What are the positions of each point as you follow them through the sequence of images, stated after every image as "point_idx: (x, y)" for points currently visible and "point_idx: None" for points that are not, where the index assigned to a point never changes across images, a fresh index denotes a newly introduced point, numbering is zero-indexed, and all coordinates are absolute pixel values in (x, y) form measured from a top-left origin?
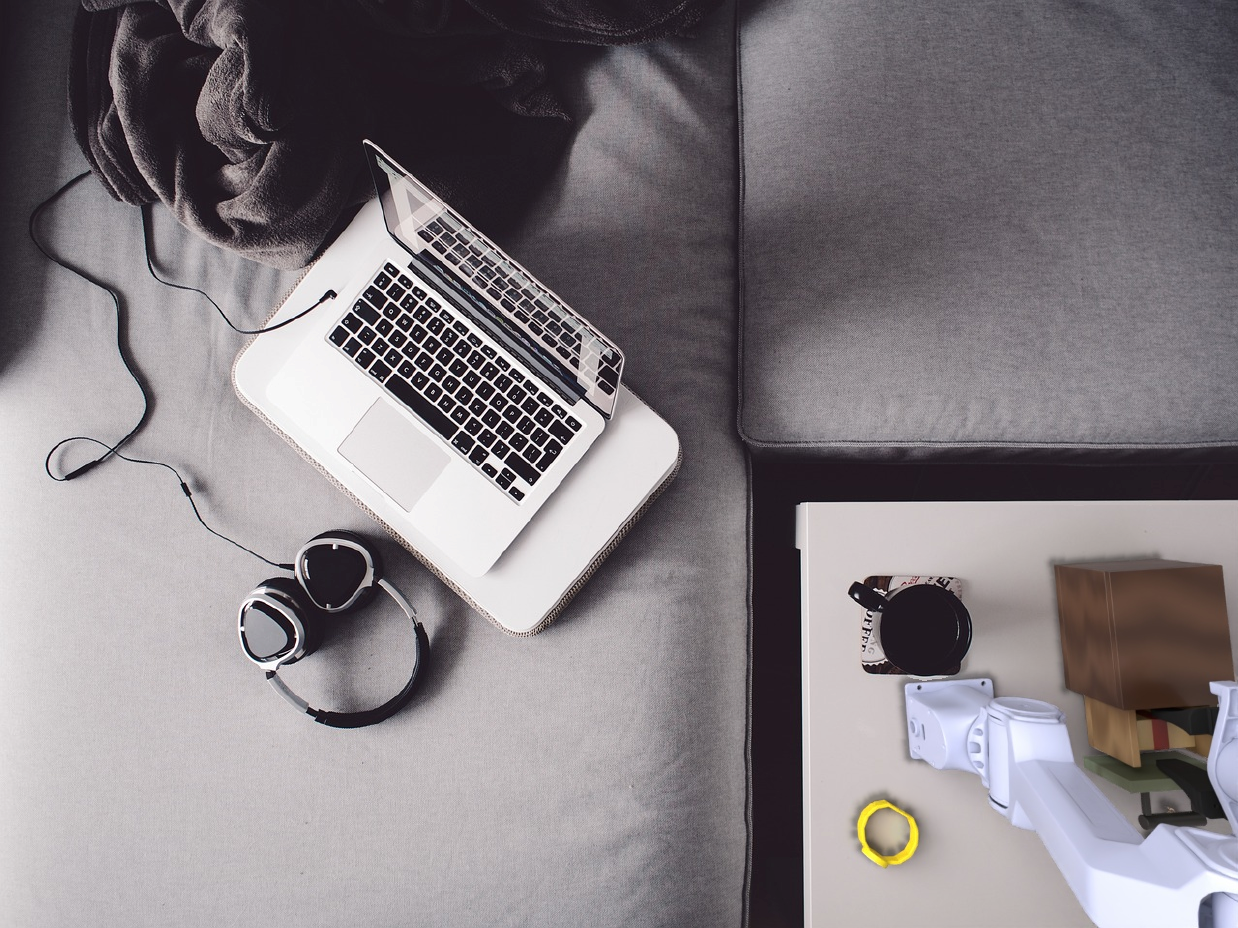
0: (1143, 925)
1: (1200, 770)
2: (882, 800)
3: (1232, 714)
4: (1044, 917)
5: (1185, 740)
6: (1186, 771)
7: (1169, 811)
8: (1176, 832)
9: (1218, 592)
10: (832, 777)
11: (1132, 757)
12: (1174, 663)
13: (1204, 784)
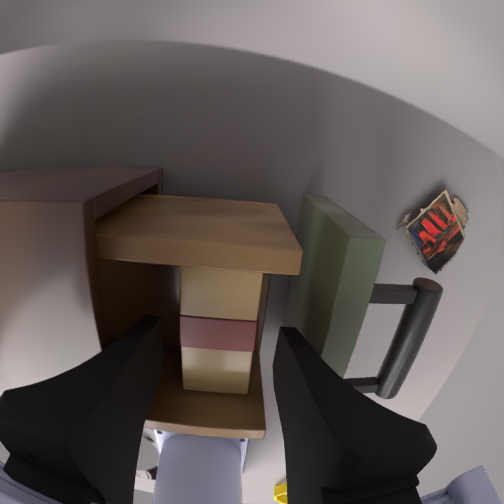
0: None
1: (296, 375)
2: (274, 489)
3: None
4: (441, 386)
5: (243, 279)
6: (288, 403)
7: (407, 227)
8: None
9: None
10: (248, 499)
11: (243, 437)
12: (18, 352)
13: (296, 488)
